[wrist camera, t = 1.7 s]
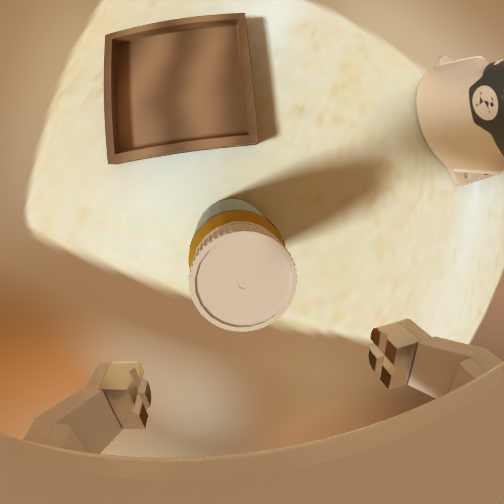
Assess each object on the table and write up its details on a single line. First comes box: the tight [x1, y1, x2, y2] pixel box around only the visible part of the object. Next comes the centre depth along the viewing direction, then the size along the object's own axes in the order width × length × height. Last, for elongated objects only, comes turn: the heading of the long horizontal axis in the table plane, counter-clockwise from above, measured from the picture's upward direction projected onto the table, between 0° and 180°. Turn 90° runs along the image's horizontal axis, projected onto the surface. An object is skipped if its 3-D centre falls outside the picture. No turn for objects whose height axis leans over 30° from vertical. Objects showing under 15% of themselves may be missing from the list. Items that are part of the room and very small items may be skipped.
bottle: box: [189, 199, 297, 331], centre depth 24 cm, size 7×7×15 cm
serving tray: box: [104, 13, 259, 164], centre depth 25 cm, size 15×15×2 cm
